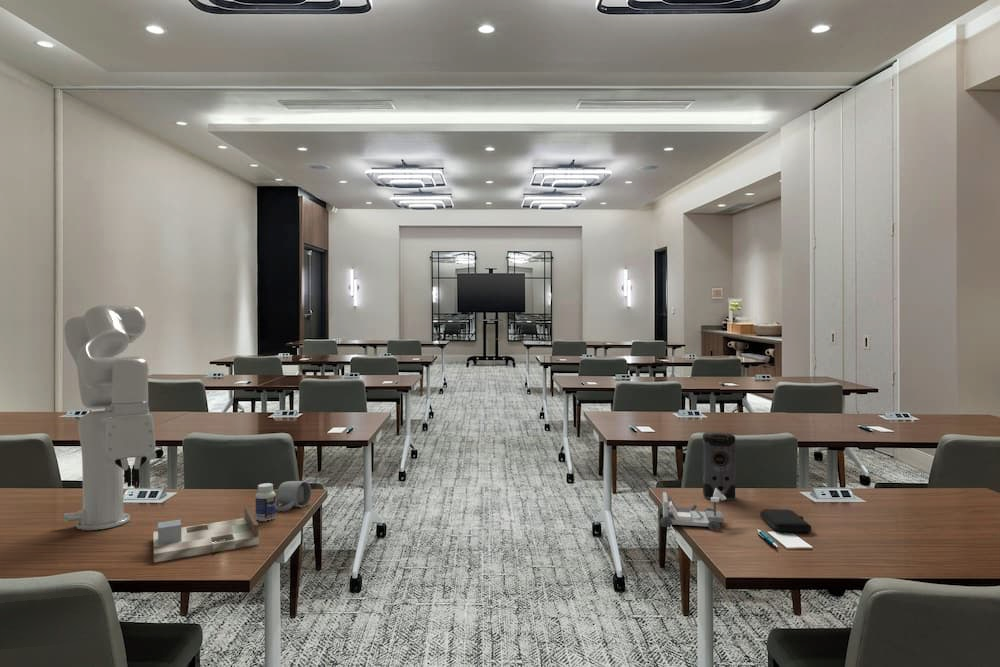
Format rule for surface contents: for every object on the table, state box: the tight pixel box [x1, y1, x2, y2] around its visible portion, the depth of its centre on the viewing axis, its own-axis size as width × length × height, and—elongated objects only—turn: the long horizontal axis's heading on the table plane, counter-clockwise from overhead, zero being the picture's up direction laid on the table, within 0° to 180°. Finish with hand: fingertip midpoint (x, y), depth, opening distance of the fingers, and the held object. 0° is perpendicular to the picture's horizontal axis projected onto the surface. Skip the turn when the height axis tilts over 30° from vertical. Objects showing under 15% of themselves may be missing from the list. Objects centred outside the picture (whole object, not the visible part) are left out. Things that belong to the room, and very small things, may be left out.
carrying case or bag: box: [759, 508, 812, 535], centre depth 166 cm, size 11×3×15 cm
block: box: [157, 519, 182, 545], centre depth 151 cm, size 5×5×4 cm
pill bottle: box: [255, 482, 277, 522], centre depth 174 cm, size 5×5×10 cm
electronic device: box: [702, 432, 736, 501], centre depth 193 cm, size 9×6×20 cm, turn 80°
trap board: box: [152, 506, 260, 563], centre depth 155 cm, size 23×18×5 cm
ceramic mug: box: [275, 480, 312, 512], centre depth 185 cm, size 11×8×8 cm
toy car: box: [658, 488, 726, 531], centre depth 169 cm, size 18×10×12 cm
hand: (131, 485), depth 147 cm, fingers closed
